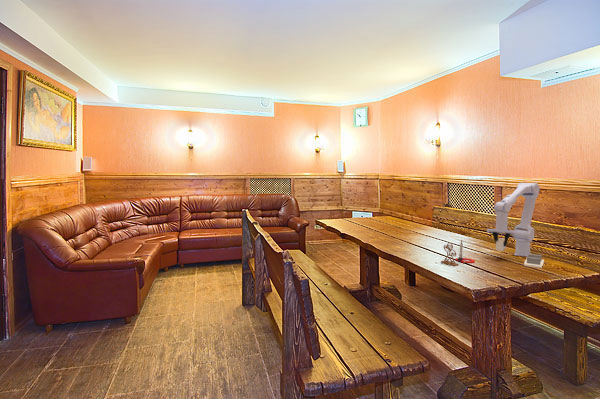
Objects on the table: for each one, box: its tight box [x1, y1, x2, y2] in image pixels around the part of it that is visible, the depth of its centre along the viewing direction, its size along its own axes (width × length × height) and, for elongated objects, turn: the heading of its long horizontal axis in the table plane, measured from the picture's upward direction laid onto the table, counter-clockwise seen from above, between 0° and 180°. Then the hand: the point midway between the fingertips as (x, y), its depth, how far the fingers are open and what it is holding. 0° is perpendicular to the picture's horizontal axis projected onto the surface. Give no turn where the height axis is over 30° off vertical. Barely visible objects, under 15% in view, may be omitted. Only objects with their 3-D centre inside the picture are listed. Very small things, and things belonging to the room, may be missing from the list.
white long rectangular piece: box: [495, 237, 507, 252], centre depth 191 cm, size 12×4×5 cm, turn 140°
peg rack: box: [523, 253, 545, 269], centre depth 181 cm, size 16×8×4 cm, turn 140°
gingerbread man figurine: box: [440, 242, 460, 267], centre depth 183 cm, size 9×4×12 cm, turn 26°
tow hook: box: [454, 239, 476, 264], centre depth 188 cm, size 8×13×9 cm
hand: (501, 245), depth 191 cm, fingers closed on white long rectangular piece, 3 cm apart
